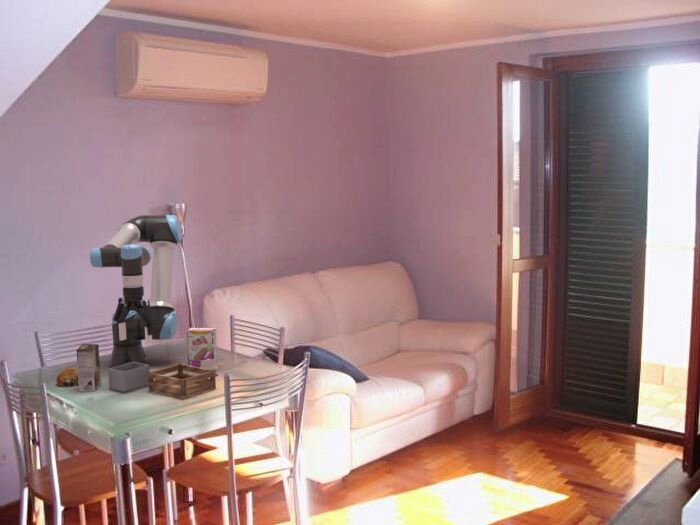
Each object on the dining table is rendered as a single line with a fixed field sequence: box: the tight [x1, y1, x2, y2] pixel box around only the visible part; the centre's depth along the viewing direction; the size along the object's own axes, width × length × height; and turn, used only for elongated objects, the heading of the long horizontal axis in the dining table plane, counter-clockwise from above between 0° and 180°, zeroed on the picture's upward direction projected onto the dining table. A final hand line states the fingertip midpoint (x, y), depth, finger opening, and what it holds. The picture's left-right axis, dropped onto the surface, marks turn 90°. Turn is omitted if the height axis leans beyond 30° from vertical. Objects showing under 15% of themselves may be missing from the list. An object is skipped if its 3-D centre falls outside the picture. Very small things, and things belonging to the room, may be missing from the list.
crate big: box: [147, 362, 217, 400], centre depth 293 cm, size 19×16×7 cm
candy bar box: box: [186, 327, 218, 367], centre depth 322 cm, size 11×5×16 cm, turn 84°
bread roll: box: [56, 367, 79, 387], centre depth 303 cm, size 10×10×8 cm
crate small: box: [107, 362, 151, 394], centre depth 296 cm, size 9×12×8 cm
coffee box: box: [76, 343, 102, 393], centre depth 295 cm, size 9×6×16 cm
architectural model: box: [200, 359, 219, 371], centre depth 311 cm, size 3×7×7 cm, turn 110°
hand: (135, 341), depth 296 cm, fingers open, 13 cm apart
